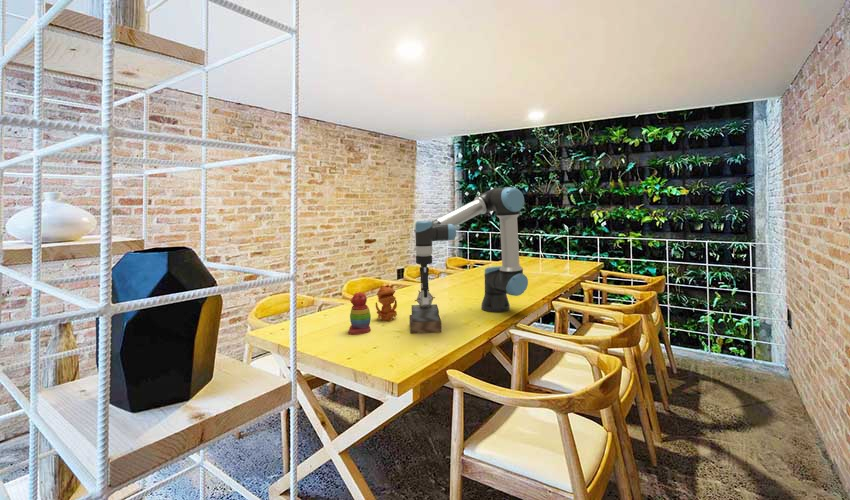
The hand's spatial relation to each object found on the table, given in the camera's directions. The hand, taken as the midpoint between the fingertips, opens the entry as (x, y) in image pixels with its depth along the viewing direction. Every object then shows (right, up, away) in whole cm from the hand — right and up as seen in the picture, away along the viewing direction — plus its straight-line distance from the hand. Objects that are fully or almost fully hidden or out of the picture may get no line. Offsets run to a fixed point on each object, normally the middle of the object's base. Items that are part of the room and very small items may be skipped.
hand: (424, 300), depth 200 cm
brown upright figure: (-19, -12, +18) cm, 29 cm away
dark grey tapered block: (0, -13, +2) cm, 13 cm away
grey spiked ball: (0, -3, +1) cm, 3 cm away
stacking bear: (-30, -14, 0) cm, 33 cm away
